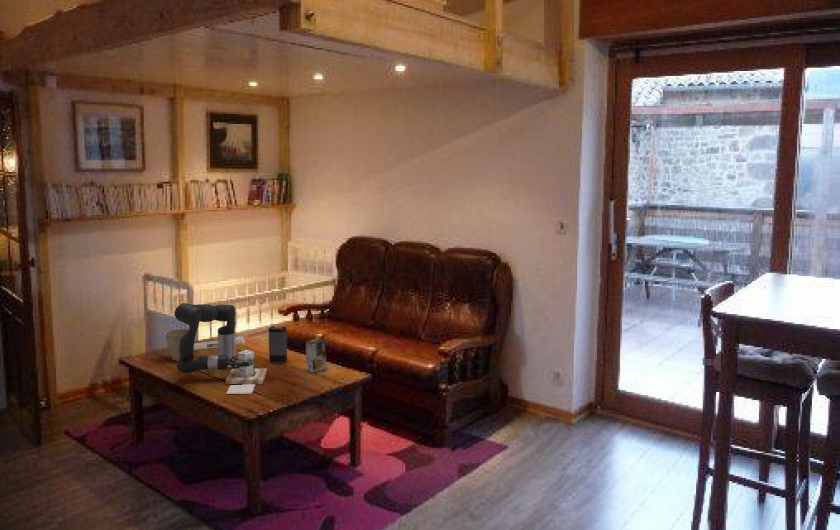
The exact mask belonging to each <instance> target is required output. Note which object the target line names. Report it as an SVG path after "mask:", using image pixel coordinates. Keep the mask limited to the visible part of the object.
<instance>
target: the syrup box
mask: <svg viewBox="0 0 840 530" xmlns="http://www.w3.org/2000/svg"><path fill="white" fill-rule="evenodd" d="M237 356H238V361H239V362H249V366H248V367H242V366H241V367H239V368H238V369H239V377H254V376H255V370H254V369H255V352H254V351H253V350H247V349H245V350H243V351H240V352H238V353H237Z"/></svg>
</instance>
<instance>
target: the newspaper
mask: <svg viewBox="0 0 840 530" xmlns="http://www.w3.org/2000/svg"><path fill="white" fill-rule="evenodd" d="M240 344H245V345H246V340H245V338H244V336H243V335H239V336H235V345H238V346H241V345H240ZM216 347H218V340H211V341H205V342H204V341H201V342H194V351H193V352H196V351H195V350H198V351H203V350H202V349H206V350H210V349H209V348H214V349H217V348H216Z"/></svg>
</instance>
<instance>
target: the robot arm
mask: <svg viewBox="0 0 840 530" xmlns="http://www.w3.org/2000/svg"><path fill="white" fill-rule="evenodd" d="M174 317H175V320H177V321H179V322H181V323H184V324H186V325H188V326H189V328H188V329H189V330H188V332H187V333H185V334H184V335H183V336H182V338H181V340H180V343H179V354H180V358H179V361H177V364H176V369H177V371H178V372H180V373H182V374H190V373H194V372H198V371H209V370H210V371H220V370H221V371H222V370H223V371H224V370H225V371H226V370H228V369H229V370H230V369H231V370H232V369H239V367H241V366H242V367H248V366H249V362H239V361H238V355H237V351H236V350H237V349H236V347H237V346H235V337H236V306H234V305H233V304H216V305H212V304H209V303H208V304H207V303H206V304H205V303H204V304H190V303H187V302H186V303H185V302H182V303H181V304H178V306H176V308H175V311H174ZM213 321H217V322H226V325H223V326H220V327H218V328H217V341H218V348H217V354H216V355H215V354H213V355H202V356H198V357H197V358H196V359H195V358H194V357H195V356H194V355H195V354H194V352H195V351H194V343H195V341H196V340H195V339H196V337H197V336H196V335H197V332H198V329H199V325H200V323H210V322H213ZM194 359H195V360H194Z"/></svg>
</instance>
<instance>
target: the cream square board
mask: <svg viewBox="0 0 840 530" xmlns="http://www.w3.org/2000/svg"><path fill="white" fill-rule="evenodd" d="M267 368H268V367H267ZM267 368H254V370H255V376H254V377H239V368H235V369H231V370H230V373H229V374H228V376H227V377H226V379H225V385H226V384H242V385H245V384H255V385H262V384H263V383H264V380H265V378H266V375H267V372H268V370H267Z"/></svg>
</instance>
